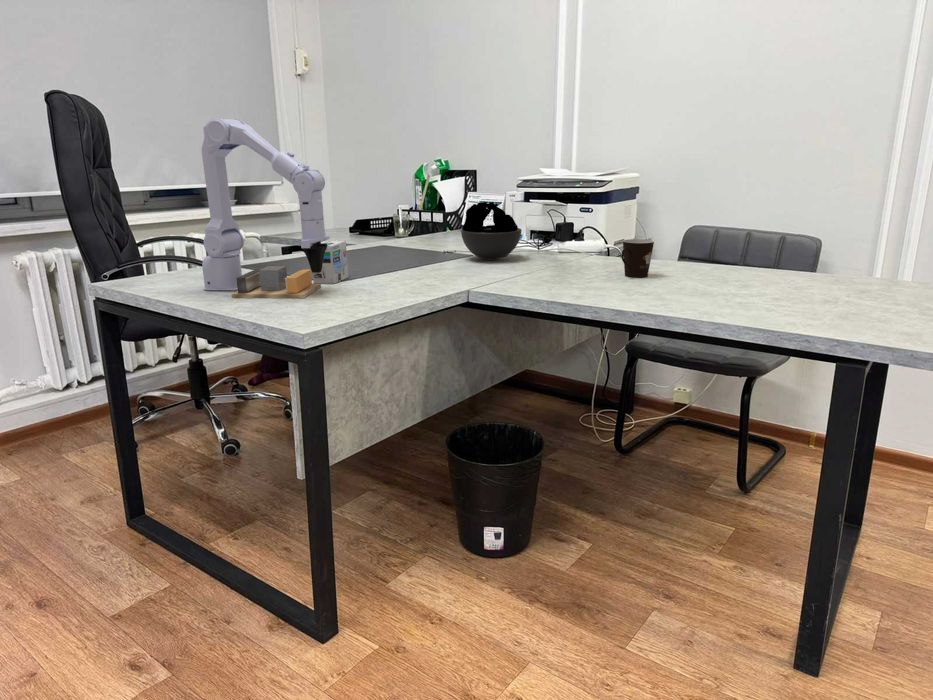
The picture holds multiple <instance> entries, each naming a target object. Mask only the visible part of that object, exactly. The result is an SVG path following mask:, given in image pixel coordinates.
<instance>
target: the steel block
mask: <svg viewBox="0 0 933 700" xmlns="http://www.w3.org/2000/svg"><path fill="white" fill-rule="evenodd" d="M259 275H260V284H261V291H281V290H283V289H285V288H286V283H285V278H287V277H288V272H287V266H283V265H282V266H281V265H280V266H278V265H276V266H275V265H273V266H272V265H270V266H269V265H267V266H265V267H263V268H261V270H259Z"/></svg>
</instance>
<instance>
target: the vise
mask: <svg viewBox="0 0 933 700" xmlns="http://www.w3.org/2000/svg"><path fill="white" fill-rule="evenodd" d="M261 269H262V268H261ZM261 269H257V268H256V269H252V270H251V271H248V272H246V273H245V274H242V276H239V277H237V278H236V279H237V288H238V290H235V291H234V292H232V293H231V294H230V296H231V299H233V298H234V299H305V298H307V297H308V296H310V295H311V294H313V293H314V292H315V291H317V290H318V289H320V288H322V283H312V284H311V285H309V286H307V287H306V288H304V289H303V290H301V291H299V292H298V293H288V291H286V288H285V289H283V290H281V291H261V284H260V275H259V270H261Z"/></svg>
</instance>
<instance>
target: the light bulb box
mask: <svg viewBox="0 0 933 700" xmlns="http://www.w3.org/2000/svg"><path fill="white" fill-rule="evenodd" d="M321 243H325V244H327V248H326V251H325V254H324V258H323V264H322V271H321V272H320V273H312V282H313V284H330V285H331V284H332V285H333V284H337V283H340V282H341V280H342V281H343V280H346V279H348V278H349V268H348V253H347V242H346V240H326V241H322V242H321Z"/></svg>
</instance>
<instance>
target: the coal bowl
mask: <svg viewBox="0 0 933 700" xmlns="http://www.w3.org/2000/svg"><path fill="white" fill-rule="evenodd" d="M500 205H501V204H500V203H494V201H490V202H487V201H484V202H483V201H482V202H477V204H476V203H473V204H472V205H471V206H470V207H468V208H467V209H466V210H465V221H464V223H463V225H462V227H461V230H460V234H461V238H462V241H463V243H464V245H465V247H466V248H467V250H468V251H469V252H471V253H472V254H473V255H474V256H475V257H477V258H479V259H482V260H487V261H495V260H500V259H502V258H504V257H505V258H506V257H507V256H508V255H509V254H511V253H512V252H513V251H514V250H515V249H516V247H517V246H518V244H519V242H520V240H521V235H522V228H520V227H518V225H517V222H516V221H515V220H514V218H513V216H512V215H511V214H507V213H506V212H505V210H504V209H502V208H500V207H499V206H500ZM491 212H493V213H492V222H493V224H489V225H484V222H485V220H486V218H487V217H488V216H489V214H490V213H491Z"/></svg>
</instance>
